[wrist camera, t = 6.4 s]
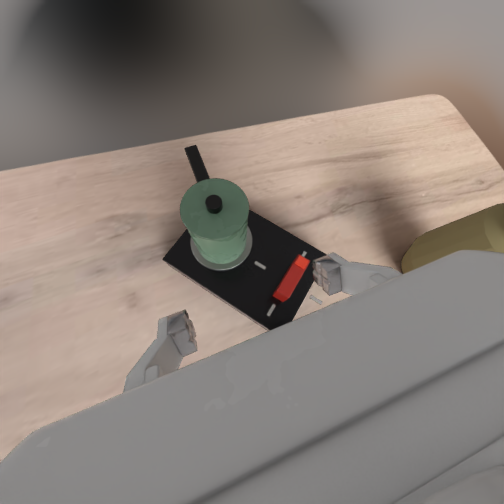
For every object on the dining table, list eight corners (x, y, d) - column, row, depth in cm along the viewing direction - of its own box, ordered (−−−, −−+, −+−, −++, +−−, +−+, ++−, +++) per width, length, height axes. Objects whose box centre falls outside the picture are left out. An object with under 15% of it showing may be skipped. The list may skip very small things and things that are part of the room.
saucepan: (161, 231, 27) (128, 189, 19) (201, 183, 30) (186, 128, 22) (228, 274, 26) (222, 248, 18) (264, 220, 28) (274, 176, 20)
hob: (169, 266, 30) (161, 258, 27) (219, 203, 33) (217, 190, 30) (291, 346, 27) (298, 348, 24) (332, 269, 30) (342, 263, 27)
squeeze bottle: (412, 310, 29) (651, 279, 12) (380, 252, 32) (543, 158, 15) (464, 289, 30) (748, 234, 13) (430, 234, 33) (634, 129, 16)
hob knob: (283, 302, 26) (289, 297, 22) (272, 295, 26) (277, 290, 22) (302, 269, 27) (311, 260, 24) (291, 263, 27) (299, 252, 24)
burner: (178, 250, 27) (177, 248, 27) (214, 205, 29) (214, 202, 29) (230, 283, 26) (229, 282, 26) (263, 234, 28) (263, 232, 28)
